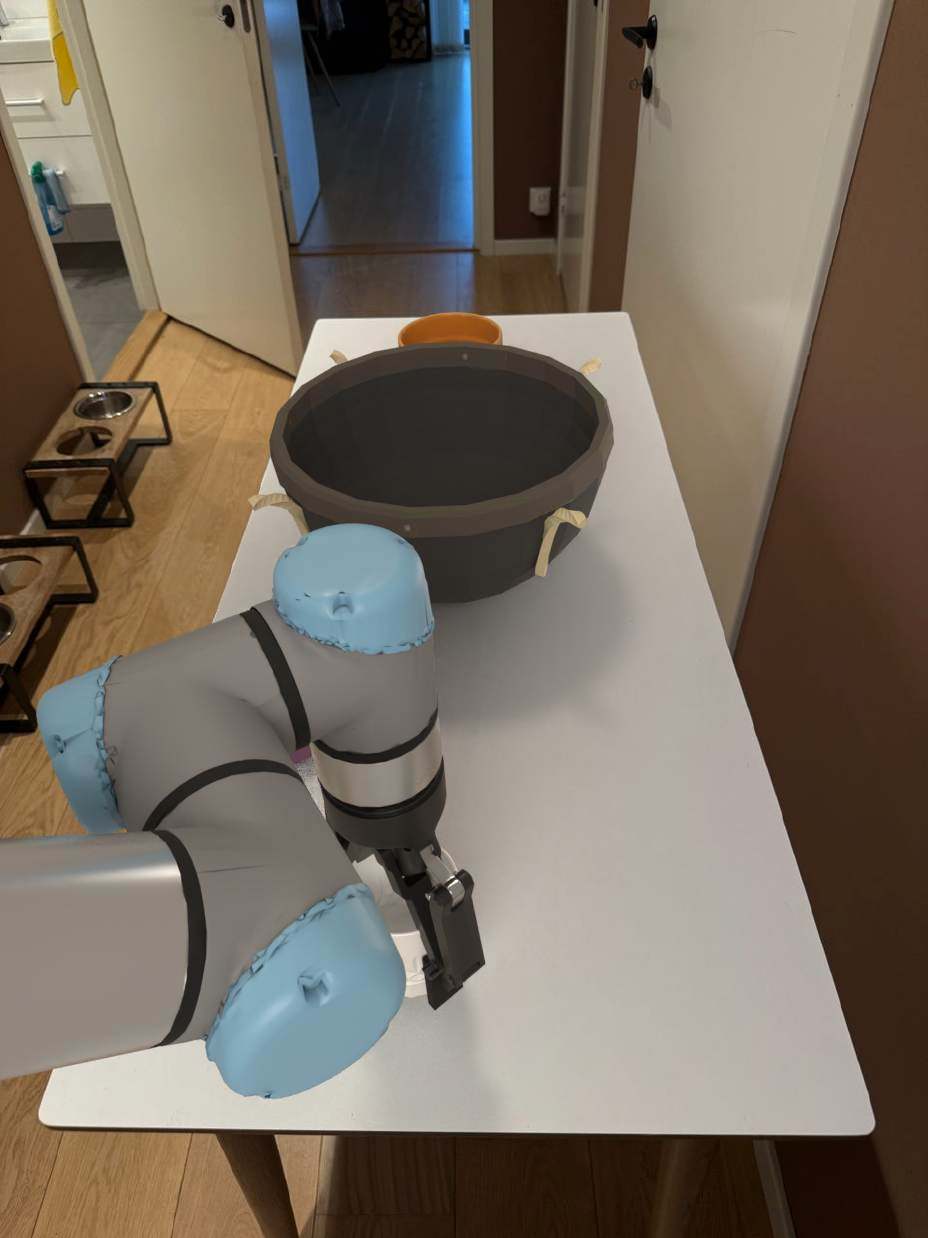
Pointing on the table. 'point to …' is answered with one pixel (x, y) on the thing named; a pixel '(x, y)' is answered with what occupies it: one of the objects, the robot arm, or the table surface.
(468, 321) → the flower pot
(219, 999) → the robot arm
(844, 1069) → the table surface
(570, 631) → the table surface
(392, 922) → the white cup
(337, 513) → the bowl
